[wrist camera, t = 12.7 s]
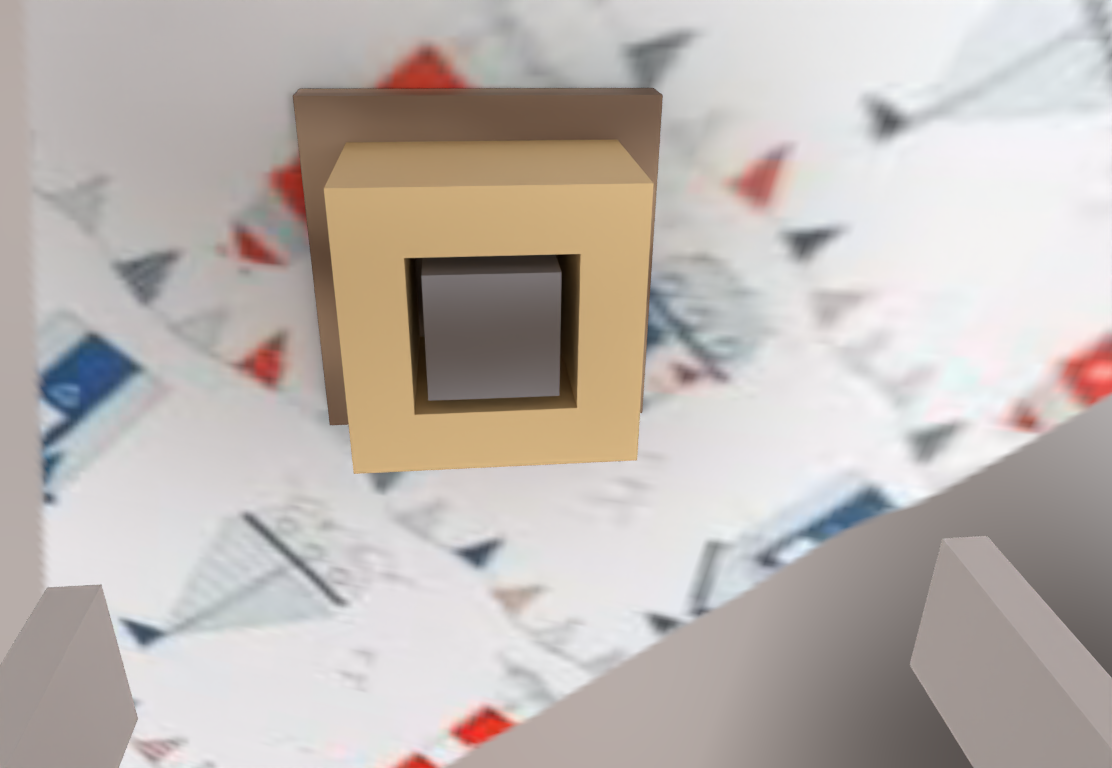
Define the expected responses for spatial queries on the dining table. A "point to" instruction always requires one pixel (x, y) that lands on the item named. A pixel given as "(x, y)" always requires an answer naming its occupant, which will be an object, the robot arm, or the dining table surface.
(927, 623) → the robot arm
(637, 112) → the post base
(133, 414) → the dining table surface
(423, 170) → the collar
